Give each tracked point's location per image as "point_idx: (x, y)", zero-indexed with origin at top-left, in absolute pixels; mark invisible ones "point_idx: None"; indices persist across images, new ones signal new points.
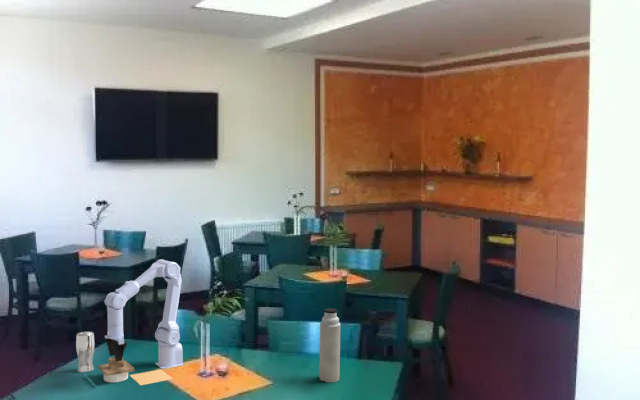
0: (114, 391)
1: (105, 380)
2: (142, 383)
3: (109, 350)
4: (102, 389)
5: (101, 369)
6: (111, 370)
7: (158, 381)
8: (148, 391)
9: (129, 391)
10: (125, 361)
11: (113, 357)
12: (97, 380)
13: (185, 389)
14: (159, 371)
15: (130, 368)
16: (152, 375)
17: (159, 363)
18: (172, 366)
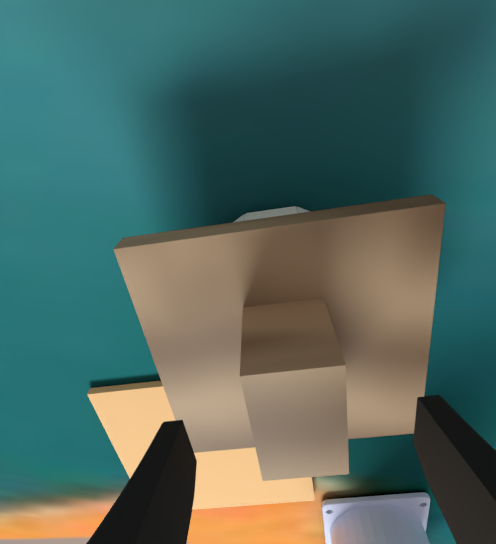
0: (28, 244)
1: (245, 217)
2: (116, 405)
3: (462, 458)
4: (89, 167)
5: (288, 223)
6: (197, 307)
7: (127, 465)
8: (3, 406)
9: (15, 326)
10: (394, 429)
11: (339, 412)
12: (327, 156)
13: (12, 517)
14: (283, 490)
15: (196, 432)
16: (234, 460)
17: (375, 518)
18: (325, 536)
